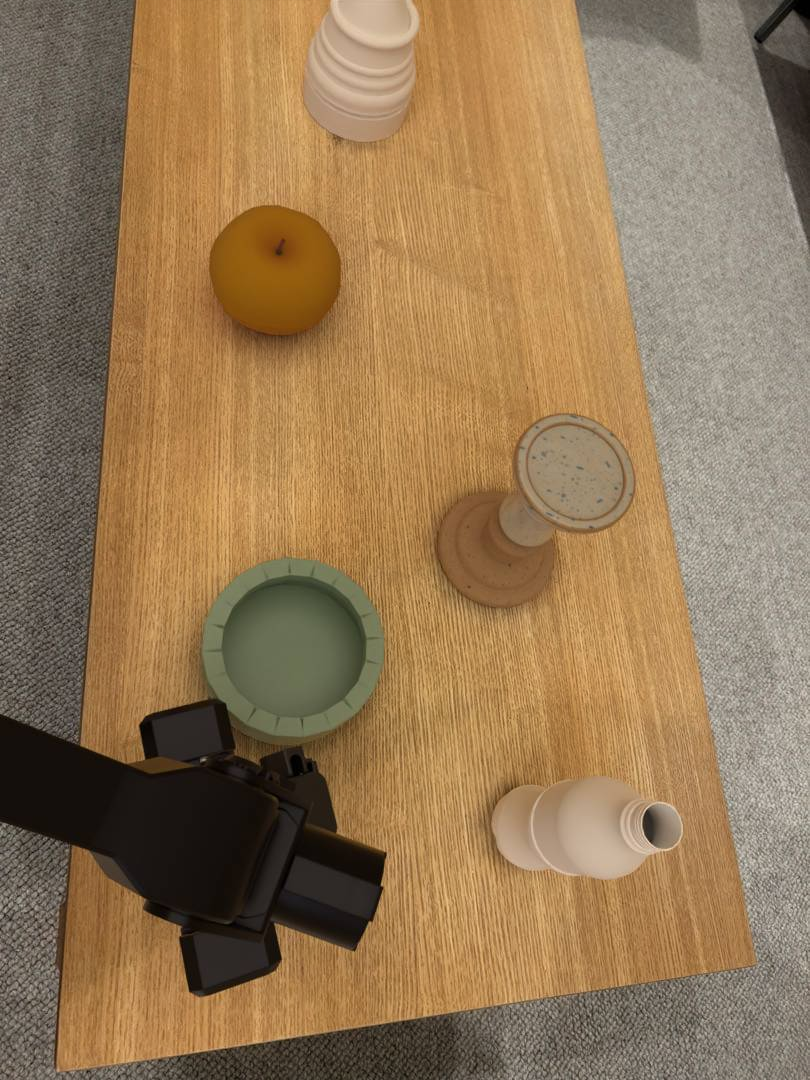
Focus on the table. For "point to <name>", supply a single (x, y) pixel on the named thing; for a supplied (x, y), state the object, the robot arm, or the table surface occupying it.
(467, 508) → the candle holder
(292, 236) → the apple
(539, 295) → the table surface
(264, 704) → the bowl
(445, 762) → the table surface
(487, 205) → the table surface
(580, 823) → the water bottle
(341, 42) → the honey pot
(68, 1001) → the table surface
